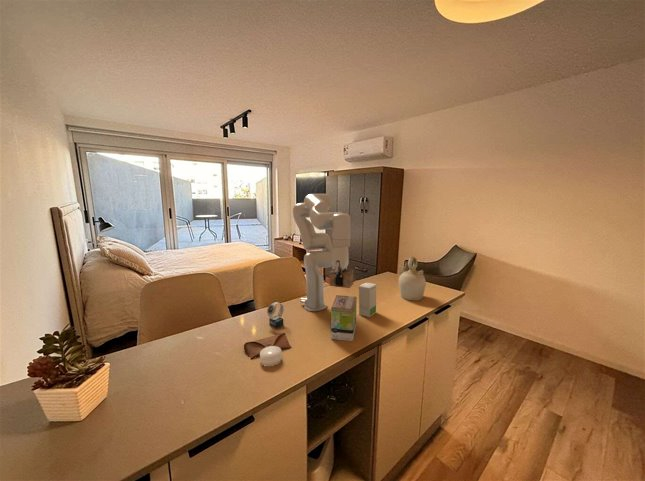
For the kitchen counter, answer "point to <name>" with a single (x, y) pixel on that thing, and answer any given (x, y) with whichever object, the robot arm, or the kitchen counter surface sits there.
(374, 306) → the skincare box
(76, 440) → the kitchen counter surface
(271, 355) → the cream white dome
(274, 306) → the watch
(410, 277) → the jug
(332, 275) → the walnut box
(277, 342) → the sunglasses case
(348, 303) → the tea box
